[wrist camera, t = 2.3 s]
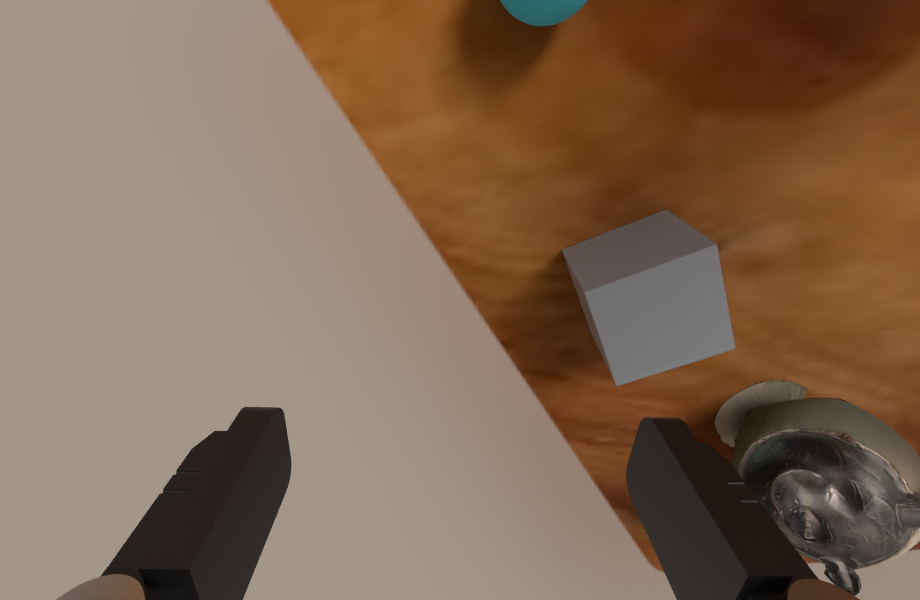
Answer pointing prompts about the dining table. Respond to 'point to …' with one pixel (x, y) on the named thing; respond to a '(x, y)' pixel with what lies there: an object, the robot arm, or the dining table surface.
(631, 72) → the dining table surface
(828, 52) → the dining table surface
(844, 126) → the dining table surface
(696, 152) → the dining table surface
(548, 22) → the ball
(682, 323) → the grey cuboid
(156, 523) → the robot arm
